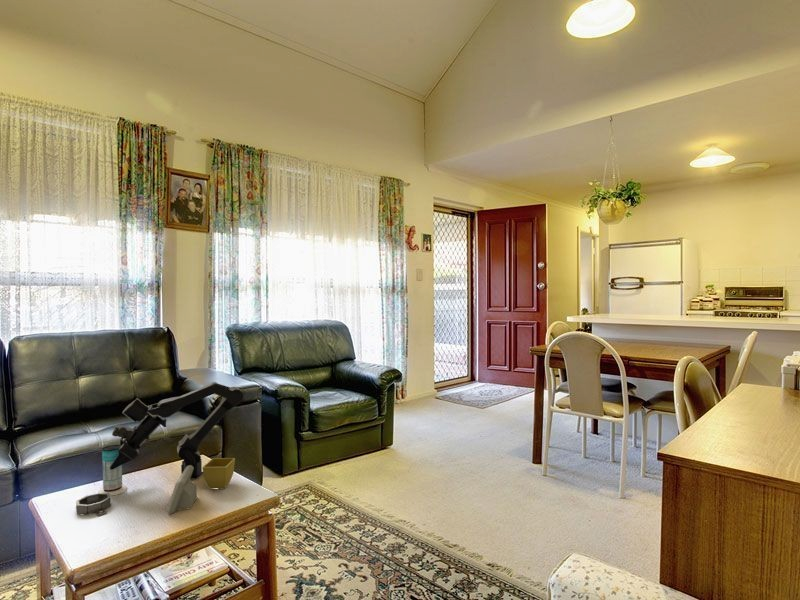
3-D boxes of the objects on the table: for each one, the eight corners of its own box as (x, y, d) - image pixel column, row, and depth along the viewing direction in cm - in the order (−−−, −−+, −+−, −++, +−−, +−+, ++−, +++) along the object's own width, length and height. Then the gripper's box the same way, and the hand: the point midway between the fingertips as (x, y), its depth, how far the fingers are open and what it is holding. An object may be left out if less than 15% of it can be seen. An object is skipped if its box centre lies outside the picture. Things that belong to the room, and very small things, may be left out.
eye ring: (124, 502, 160) (124, 493, 160) (102, 516, 151) (101, 507, 150) (86, 500, 163) (85, 491, 162) (61, 513, 153) (61, 504, 153)
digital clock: (179, 494, 167) (179, 464, 166) (205, 493, 167) (204, 463, 166) (156, 516, 150) (155, 482, 150) (184, 515, 150) (183, 482, 150)
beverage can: (123, 484, 174) (121, 443, 174) (121, 490, 169) (120, 448, 169) (104, 487, 171) (103, 446, 171) (102, 493, 166) (101, 451, 166)
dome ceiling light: (132, 486, 174) (132, 484, 174) (114, 497, 165) (114, 495, 165) (110, 485, 175) (110, 483, 175) (91, 495, 166) (91, 493, 166)
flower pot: (226, 491, 168) (226, 466, 168) (202, 492, 168) (201, 466, 168) (236, 481, 177) (235, 457, 176) (212, 481, 177) (212, 458, 177)
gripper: (127, 410, 180) (94, 444, 175) (125, 422, 164) (89, 460, 159) (151, 427, 184) (119, 461, 179) (152, 441, 168) (117, 478, 163)
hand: (111, 464), depth 170 cm, fingers open, 9 cm apart
